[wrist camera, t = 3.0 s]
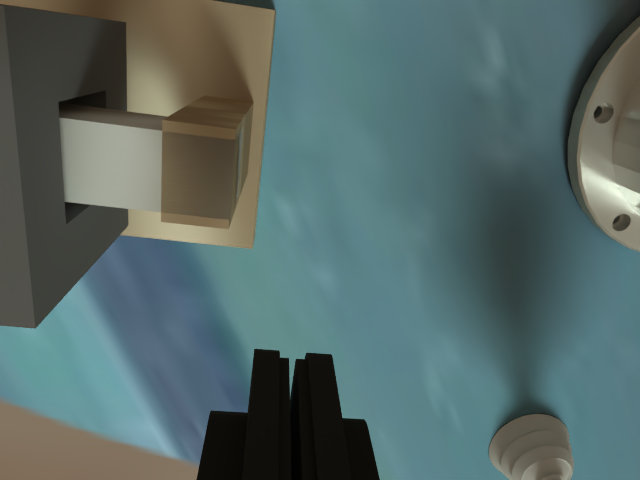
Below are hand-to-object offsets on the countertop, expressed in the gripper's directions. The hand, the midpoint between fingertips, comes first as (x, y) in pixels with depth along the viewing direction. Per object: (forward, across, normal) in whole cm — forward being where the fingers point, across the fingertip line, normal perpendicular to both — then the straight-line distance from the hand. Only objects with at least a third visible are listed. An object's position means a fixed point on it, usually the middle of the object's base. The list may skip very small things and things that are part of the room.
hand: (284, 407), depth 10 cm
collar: (+10, +8, -3) cm, 13 cm away
